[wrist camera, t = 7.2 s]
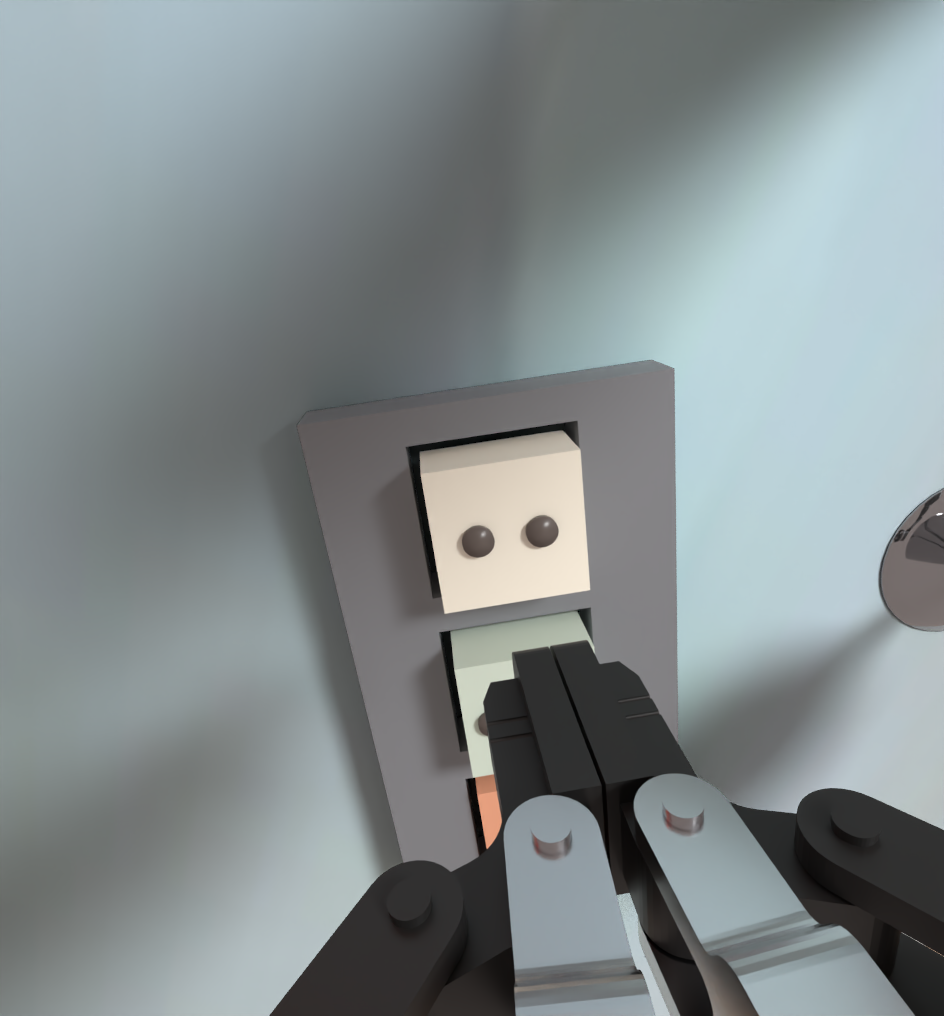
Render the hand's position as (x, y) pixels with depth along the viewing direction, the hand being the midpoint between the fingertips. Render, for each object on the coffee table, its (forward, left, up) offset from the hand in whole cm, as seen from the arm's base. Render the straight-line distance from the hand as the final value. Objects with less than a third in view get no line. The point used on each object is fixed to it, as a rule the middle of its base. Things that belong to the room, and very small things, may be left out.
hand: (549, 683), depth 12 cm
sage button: (0, +7, -10) cm, 12 cm away
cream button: (0, 0, -10) cm, 10 cm away
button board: (0, +7, -11) cm, 13 cm away
